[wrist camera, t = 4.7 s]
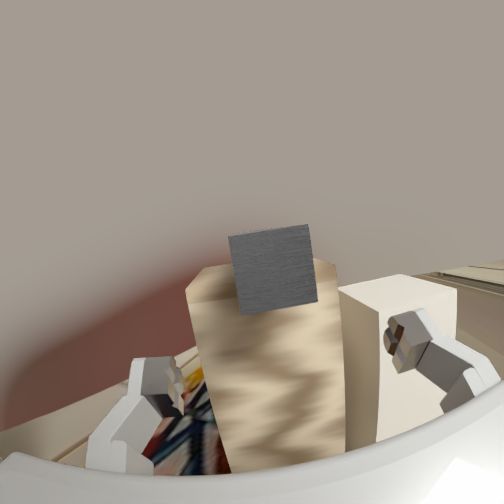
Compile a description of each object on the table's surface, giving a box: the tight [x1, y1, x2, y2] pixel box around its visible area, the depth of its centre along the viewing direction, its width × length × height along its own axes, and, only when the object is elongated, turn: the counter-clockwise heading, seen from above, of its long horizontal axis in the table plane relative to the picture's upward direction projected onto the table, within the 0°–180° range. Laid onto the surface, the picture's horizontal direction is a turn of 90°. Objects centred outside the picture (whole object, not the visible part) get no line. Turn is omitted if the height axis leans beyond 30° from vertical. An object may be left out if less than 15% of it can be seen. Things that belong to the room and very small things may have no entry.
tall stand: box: [185, 258, 345, 474], centre depth 26 cm, size 10×12×26 cm
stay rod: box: [228, 224, 318, 316], centre depth 21 cm, size 3×20×3 cm, turn 3°
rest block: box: [338, 274, 457, 452], centre depth 26 cm, size 8×10×22 cm
